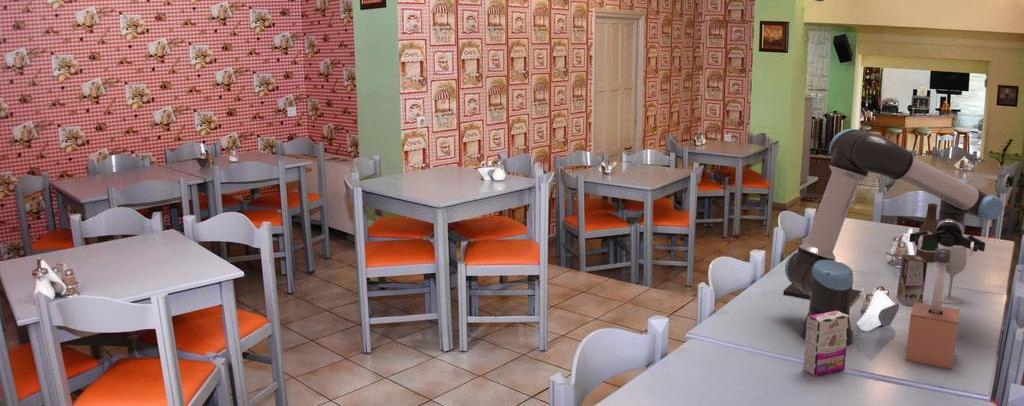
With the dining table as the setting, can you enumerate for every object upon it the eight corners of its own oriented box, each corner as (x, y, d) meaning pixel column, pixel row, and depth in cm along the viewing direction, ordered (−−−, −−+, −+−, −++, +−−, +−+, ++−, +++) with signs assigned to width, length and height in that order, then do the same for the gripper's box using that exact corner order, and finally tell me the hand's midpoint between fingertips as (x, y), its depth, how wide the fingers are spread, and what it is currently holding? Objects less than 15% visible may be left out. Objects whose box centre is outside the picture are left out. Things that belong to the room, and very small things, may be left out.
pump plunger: (927, 318, 237) (936, 247, 232) (942, 320, 235) (951, 249, 230) (925, 326, 230) (934, 253, 226) (940, 328, 228) (950, 256, 224)
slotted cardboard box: (909, 346, 244) (914, 302, 241) (953, 354, 238) (959, 309, 235) (905, 359, 234) (910, 314, 231) (951, 368, 228) (958, 322, 225)
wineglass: (963, 300, 286) (971, 243, 282) (957, 305, 281) (965, 247, 276) (940, 295, 291) (947, 239, 287) (934, 300, 286) (941, 243, 281)
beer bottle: (937, 259, 337) (944, 203, 332) (935, 263, 331) (942, 206, 326) (916, 256, 341) (923, 201, 336) (914, 260, 335) (921, 204, 330)
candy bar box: (831, 363, 231) (836, 309, 227) (844, 370, 227) (850, 315, 223) (801, 370, 227) (806, 315, 223) (814, 377, 222) (819, 320, 219)
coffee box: (922, 306, 279) (928, 262, 276) (902, 305, 281) (908, 260, 277) (915, 298, 288) (920, 254, 285) (896, 296, 289) (901, 253, 286)
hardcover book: (795, 285, 304) (796, 279, 303) (860, 296, 291) (861, 290, 290) (783, 296, 291) (783, 290, 290) (850, 309, 278) (850, 302, 278)
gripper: (992, 250, 250) (992, 266, 232) (904, 238, 262) (897, 254, 245) (995, 226, 248) (995, 241, 231) (906, 216, 261) (900, 230, 243)
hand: (945, 248), depth 238 cm, fingers open, 13 cm apart
